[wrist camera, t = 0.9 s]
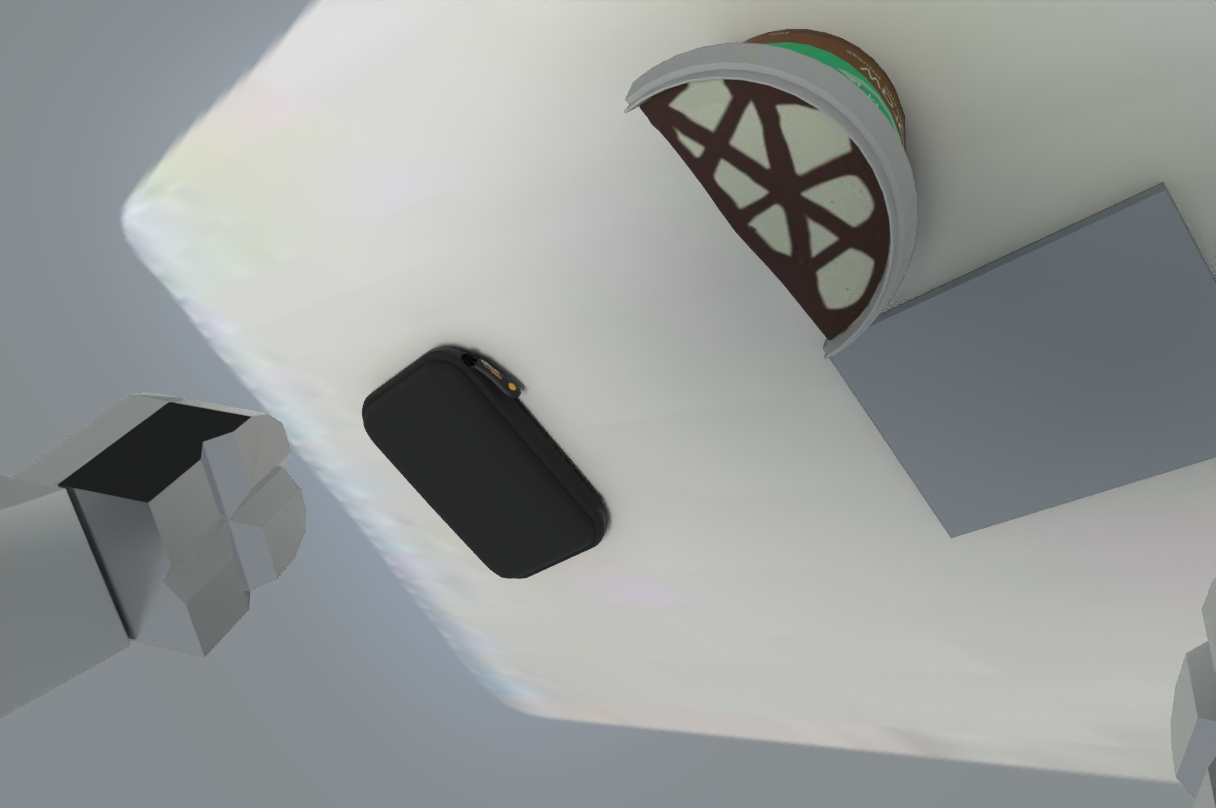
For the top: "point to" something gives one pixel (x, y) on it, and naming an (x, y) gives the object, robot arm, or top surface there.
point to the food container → (798, 164)
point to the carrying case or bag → (483, 463)
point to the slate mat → (1049, 368)
